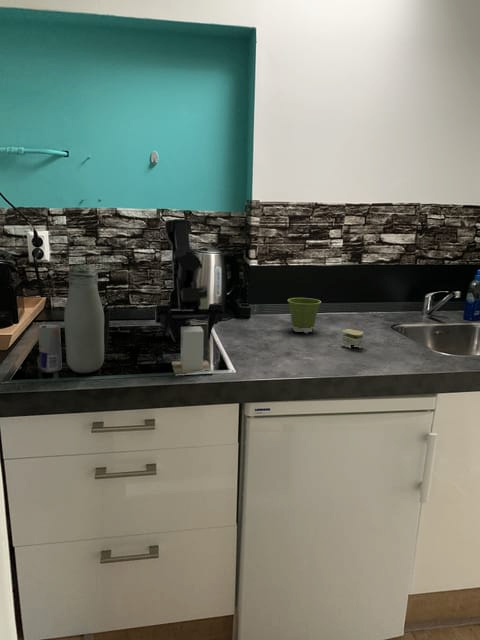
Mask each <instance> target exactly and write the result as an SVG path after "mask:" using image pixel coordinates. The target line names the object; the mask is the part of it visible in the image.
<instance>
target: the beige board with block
mask: <svg viewBox="0 0 480 640" xmlns="http://www.w3.org/2000/svg"><path fill="white" fill-rule="evenodd" d="M171 366H173V367H172V370H174V371H173V374H174V373H175V375H176V374H177V375H178V374H187V373H194V372H198V371H205V370H210V371H211V372H212V371H213V370H212V367H211V365H210V363H209V361H208V360H206V359H205V360H203V370H183V369H182V366H181V360H180V361H171ZM175 375H174V376H175Z"/></svg>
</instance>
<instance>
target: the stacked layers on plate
mask: <svg viewBox="0 0 480 640" xmlns="http://www.w3.org/2000/svg"><path fill="white" fill-rule="evenodd" d="M342 332H343V333H342V334H341V336H342V339H341V340H343V341H347V342H351V344H353V345H359V343H361V342H363V338H364V331H362V330H355V329H351V328H347V329H344V330H342Z"/></svg>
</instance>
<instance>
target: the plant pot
mask: <svg viewBox="0 0 480 640" xmlns="http://www.w3.org/2000/svg"><path fill="white" fill-rule="evenodd" d="M287 302H288V305H289V310H290V317H291V326H292V325H293V326H294V327H298V328H311V327H314V328H315V323H316V318H317V314H318V311H319V309H320V304H322V301H321V300H320V299H316V298H310V297H309V298H308V297H291V298H288V299H287Z"/></svg>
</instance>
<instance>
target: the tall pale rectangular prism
mask: <svg viewBox="0 0 480 640" xmlns="http://www.w3.org/2000/svg"><path fill="white" fill-rule="evenodd" d="M204 333H205V332H204V329H203V327H202V326H200V325H199V326H191V327H181V339H180V361H181V366H182V369H183V370H203V361H204V336H205V335H204Z"/></svg>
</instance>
